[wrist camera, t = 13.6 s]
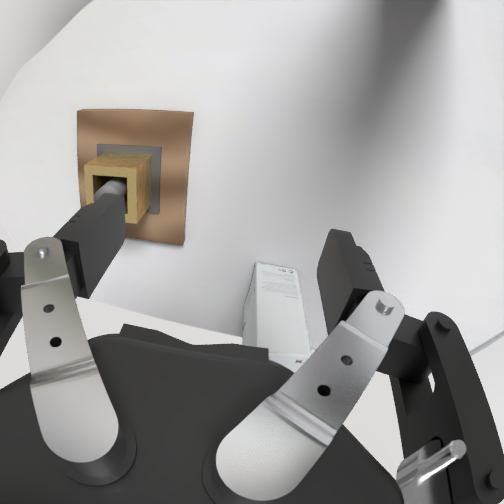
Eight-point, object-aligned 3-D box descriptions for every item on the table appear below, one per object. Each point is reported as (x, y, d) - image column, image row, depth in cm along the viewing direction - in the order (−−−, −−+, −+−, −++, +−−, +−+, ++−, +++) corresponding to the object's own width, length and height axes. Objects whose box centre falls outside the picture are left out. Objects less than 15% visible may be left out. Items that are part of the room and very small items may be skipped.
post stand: (82, 109, 31) (43, 121, 24) (193, 112, 32) (175, 123, 25) (87, 227, 39) (59, 258, 32) (184, 240, 40) (169, 277, 33)
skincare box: (255, 260, 41) (252, 347, 29) (300, 268, 42) (314, 355, 29) (243, 308, 46) (237, 394, 33) (283, 314, 46) (289, 400, 33)
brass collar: (104, 152, 32) (83, 165, 28) (152, 155, 33) (136, 168, 28) (105, 199, 36) (87, 217, 31) (151, 204, 36) (137, 223, 32)
